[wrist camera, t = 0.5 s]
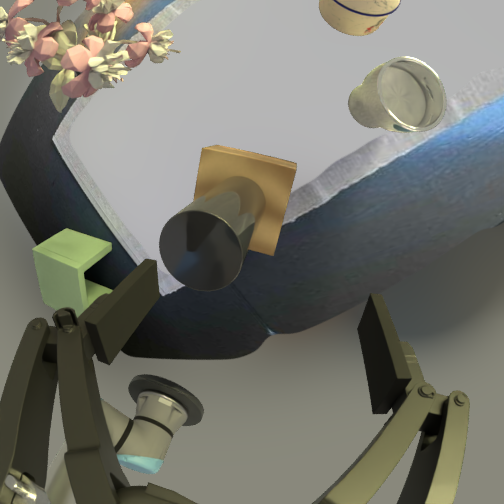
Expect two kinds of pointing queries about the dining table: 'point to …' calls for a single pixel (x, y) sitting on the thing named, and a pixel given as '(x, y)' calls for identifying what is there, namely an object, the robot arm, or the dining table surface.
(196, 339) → the dining table surface
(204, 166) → the low shelf
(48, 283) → the green step stool
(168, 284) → the dining table surface
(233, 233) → the dark grey cylinder
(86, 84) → the flower
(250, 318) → the dining table surface
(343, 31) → the teacup with lid
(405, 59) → the beer glass
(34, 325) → the robot arm
